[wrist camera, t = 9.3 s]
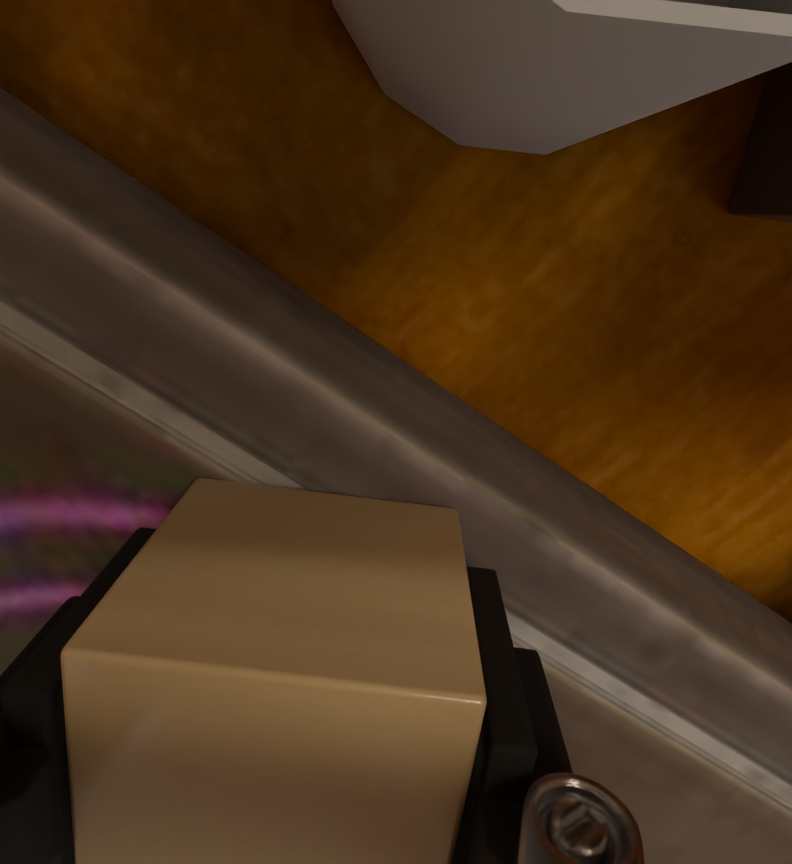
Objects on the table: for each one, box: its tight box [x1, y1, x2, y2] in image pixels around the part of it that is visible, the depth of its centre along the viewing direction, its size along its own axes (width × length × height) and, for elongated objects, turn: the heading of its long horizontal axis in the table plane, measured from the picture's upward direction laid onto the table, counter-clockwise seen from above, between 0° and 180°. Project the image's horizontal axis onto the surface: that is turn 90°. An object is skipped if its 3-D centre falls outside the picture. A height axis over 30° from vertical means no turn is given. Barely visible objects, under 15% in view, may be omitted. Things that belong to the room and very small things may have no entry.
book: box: [0, 88, 792, 864], centre depth 16 cm, size 30×22×5 cm
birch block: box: [60, 478, 487, 864], centre depth 10 cm, size 5×5×5 cm
